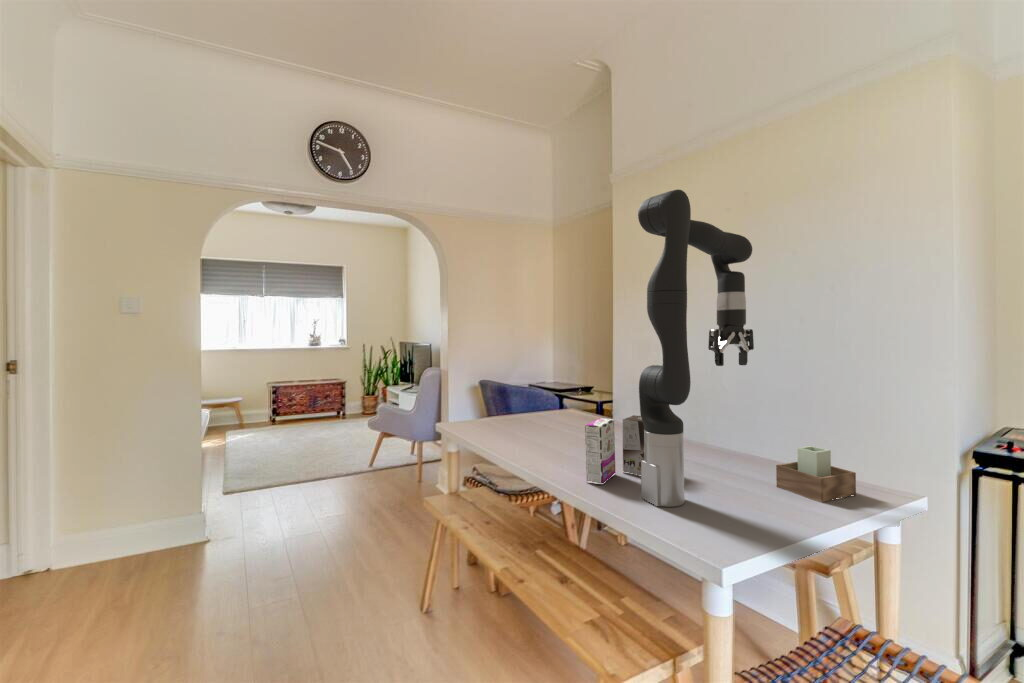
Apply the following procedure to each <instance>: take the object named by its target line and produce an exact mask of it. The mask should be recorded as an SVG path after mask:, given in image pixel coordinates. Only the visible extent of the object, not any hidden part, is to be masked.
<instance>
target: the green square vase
mask: <svg viewBox="0 0 1024 683" xmlns="http://www.w3.org/2000/svg"><path fill="white" fill-rule="evenodd" d="M831 454H832V452H831V450H830V449H825V448H822V447H817V446H813V445H808V446H801V447H797V462H798V471H801V472H804V473H807V474H811V475H814V476H817V477H826V476H831V466H832V461H831V460H832V459H831V458H832V457H831V456H832V455H831Z"/></svg>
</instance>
